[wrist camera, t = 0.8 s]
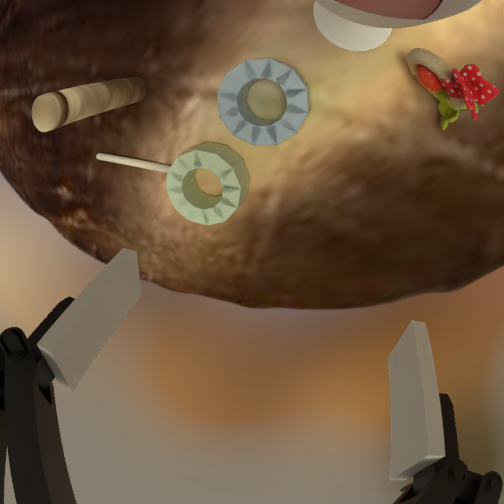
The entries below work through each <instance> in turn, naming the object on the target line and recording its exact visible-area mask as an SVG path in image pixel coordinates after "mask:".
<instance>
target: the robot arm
mask: <svg viewBox="0 0 504 504" xmlns="http://www.w3.org/2000/svg"><path fill="white" fill-rule="evenodd" d="M140 296H141V287H140V279H139V270H138V261H137V252H136V251H132V250H129V249H125V248H123V249H122V250H121V251H120V252H119V253H118V254H117V255H116V256H115V257H114V258H113V259H112V260H111V261H110V262H109V263H108V264H107V265H106V266H105V267H104V269H103V270H102V271H101V272H100V273H99V274H98V275H97V276H96V277H95V278H94V279H93V280H92V281H91V282H90V283H89V285H88V286H87V287H86V288H85V289H84V290H83V291H82V292H81V293H80V294H79V295H78V297H77V298H76V299H74V298H72V297H68V298H66V299H64V300H62V301H61V302H60V303H58V305H57V306H56V307H55V308H54V309H53V311H52V312H50V313H49V314H48V316H47V318H45V319H44V320H43V322H41V324H40V325H39V326H38V327H37V328H36V329H35V331H34V332H33V333H32V334H31V335H30V336H29V338H28V339H27V338H26V336H25V334H24V332H23V331H22V330H21V329H20V328H17V327H11V328H8V329H6V330H4V331H3V332H2V333H1V335H0V504H4V476H5V462H6V451H7V447H8V456H9V463H10V470H11V477H12V483H13V488H14V493H15V498H16V502H17V504H76V500H75V497H74V493H73V490H72V486H71V483H70V478H69V475H68V471H67V466H66V462H65V457H64V452H63V447H62V443H61V437H60V431H59V425H58V419H57V412H56V404H55V397H54V387H53V383H52V381H53V379H54V378H55V377H56V379H57V381H58V382H59V384H60V385H62V386H64V387H65V388H67V389H69V390H71V391H74V390H75V388H76V386H77V385H78V384H79V382H80V381H81V379H82V377H83V376H84V375H85V373H86V371H87V370H88V369H89V367H90V366H91V364H92V363H93V361H94V360H95V358H96V357H97V356H98V354H99V353H100V351H101V350H102V348H103V347H104V346H105V344H106V343H107V341H108V340H109V338H110V337H111V336H112V334H113V333H114V331H115V330H116V328H117V327H118V326H119V324H120V323H121V322H122V320H123V319H124V318H125V316H126V315H127V313H128V312H129V311H130V309H131V308H132V307H133V305H134V303H136V301H137V300H138V298H139V297H140ZM388 366H389V383H390V412H391V451H390V477H389V480H407V479H408V478H410V477H412V476H413V483H411V484H409V485H407V486H405V487H403V488H402V489H401V490H400V491H404V490H405V491H404V492H403V493H402V495H401V496H400V497H399V498H398V499H397V500H396V501H395V502H394V503H393V504H498V501H499V498H500V494H501V491H502V485H503V483H502V479H501V477H500V475H499V474H498V473H497V472H494V471H490V472H487V473H486V474H484V475H480V474H477V473H474V472H471V471H468V469H467V466H466V465H465V463H464V462H463V461H461V460H460V459H459V453H458V442H457V433H456V426H455V418H454V410H453V404H452V402H451V400H450V398H449V396H448V394H441V393H439V391H438V385H437V378H436V372H435V367H434V361H433V356H432V351H431V346H430V341H429V336H428V332H427V327H426V323H423V322H419V321H414V320H412V321H411V322H410V324H409V325H408V327H407V329H406V330H405V332H404V334H403V335H402V337H401V338H400V340H399V341H398V343H397V345H396V346H395V348H394V349H393V351H392V352H391V354H390V355H389V357H388Z"/></svg>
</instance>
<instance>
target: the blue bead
mask: <svg viewBox="0 0 504 504" xmlns="http://www.w3.org/2000/svg"><path fill="white" fill-rule="evenodd" d="M260 78H268V79H270V80H272V81H274V82H276V83H278V84H279V85H280V86H281V88H282V89H283V91H284V92H285V94H286V98H287V109H286V111H285V113H284V115H283V117H281V118H279V119H278V120H269V121H264V120H262V119H260V118H258V117H256V116H254V115H253V113H252V112H251V110H250V109H249V108H248V106H247V97H246V94H247V92H248V90H249V88H250V86H251V84H253V83H254V82H256V81H257V80H259V79H260ZM217 99H218V108H219V117H220V118H221V119H222V121H223V122H224V124H225V125H226V126H227V128H228V129H229V131H230V132H231V133H232V135H234V136H236V137H238V138H240V139H242V140H244V141H246V142H248V143H250V144H252V145H277V144H279V143H281V142H282V141H284V140H286V139H287V138H289V137H291V136H293V135H294V134H296V133H297V132H298V130H299V129H300V127H301V125H302V123H303V121H304V119H305V117H306V115H307V114H308V112H309V110H310V94H309V87H308V85H307V84H306V82H305V81H304V79H303V78H302V76H301V75H300V74H299V72H298V71H297V69H295V68H292V67H290V66H288V65H286V64H284V63H282V62H280V61H278V60H275V59H271V58H268V59H255V60H245V61H244V62H242V63H241V64H240V65H238V66H237V67H235V68H234V69H232V70H231V71H230V72H228V73H226V75H225V78H224V80H223V82H222V84H221V86H220V89H219V91H218V93H217Z"/></svg>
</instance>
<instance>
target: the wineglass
mask: <svg viewBox="0 0 504 504" xmlns="http://www.w3.org/2000/svg"><path fill="white" fill-rule="evenodd" d="M314 1H315V3H314V7H313V16H314V21H315V23H316V25H317V28H318V30H319V31H320V33H321V34H322V35H323V36H324V37H325V38H326V39H327V40H328V41H330V42H331V43H333V44H335V45H336V46H338V47H340V48H343V49H346V50H350V51H368V50H371V49H375V48H377V47H378V46H380V45H381V44H383V43H385V41H386V40H387V39H388V37H389V36H390V34H391V32H392V28H403V27H411V26H417V25H421V24H425V23H429V22H433V21H437V20H441V19H444V18H447V17H450V16H453V15H456V14H458V13H461V12H463V11H466V10H468V9H470V8H471V7H473V6H474V5H476V4H477V3H479V2H480V1H481V0H314Z"/></svg>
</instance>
